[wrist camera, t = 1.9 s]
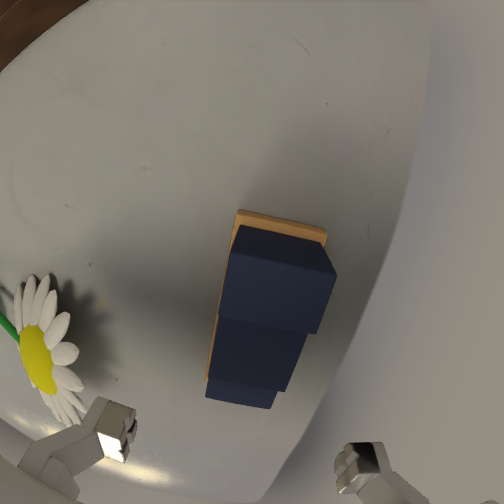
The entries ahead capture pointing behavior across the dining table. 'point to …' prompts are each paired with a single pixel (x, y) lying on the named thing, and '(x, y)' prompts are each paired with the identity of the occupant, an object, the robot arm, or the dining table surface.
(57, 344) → the decorative flower
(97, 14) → the dining table surface
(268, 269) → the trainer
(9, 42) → the brown wooden stand
